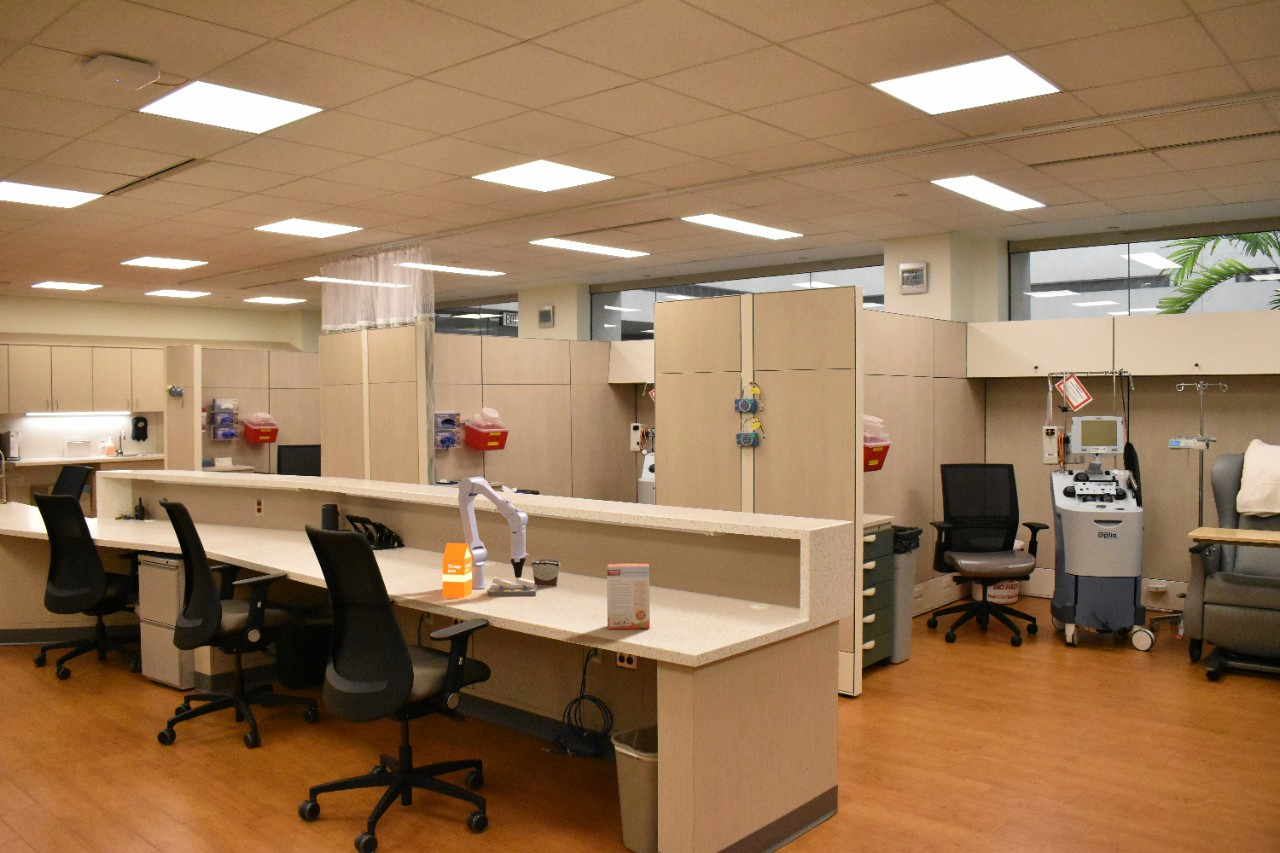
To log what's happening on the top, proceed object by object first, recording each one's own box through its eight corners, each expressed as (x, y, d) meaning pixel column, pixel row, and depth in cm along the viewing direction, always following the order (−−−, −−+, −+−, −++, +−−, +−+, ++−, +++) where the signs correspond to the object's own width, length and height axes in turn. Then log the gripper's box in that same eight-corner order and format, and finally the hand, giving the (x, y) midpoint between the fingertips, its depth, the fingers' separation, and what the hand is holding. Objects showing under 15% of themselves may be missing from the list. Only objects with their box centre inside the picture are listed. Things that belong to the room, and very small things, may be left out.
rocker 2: (515, 583, 370) (516, 579, 370) (516, 580, 375) (517, 576, 375) (533, 587, 370) (534, 583, 370) (533, 584, 375) (534, 580, 375)
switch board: (488, 596, 365) (488, 589, 365) (491, 589, 379) (491, 581, 379) (535, 595, 366) (535, 588, 366) (537, 588, 380) (537, 581, 380)
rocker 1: (492, 582, 369) (493, 578, 369) (493, 580, 374) (494, 576, 374) (509, 588, 370) (510, 584, 370) (510, 585, 375) (511, 582, 375)
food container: (564, 583, 390) (564, 559, 389) (559, 586, 384) (559, 562, 384) (536, 582, 393) (536, 558, 393) (530, 585, 387) (530, 560, 387)
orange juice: (464, 597, 363) (464, 545, 362) (442, 596, 364) (442, 544, 364) (472, 593, 370) (471, 542, 370) (450, 592, 372) (450, 541, 371)
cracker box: (649, 625, 320) (649, 562, 319) (649, 629, 314) (650, 566, 313) (607, 625, 319) (607, 562, 318) (607, 629, 313) (607, 566, 312)
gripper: (527, 545, 365) (527, 580, 366) (529, 539, 380) (529, 573, 380) (508, 545, 365) (509, 581, 365) (511, 540, 379) (511, 574, 380)
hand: (518, 577), depth 372 cm, fingers closed
